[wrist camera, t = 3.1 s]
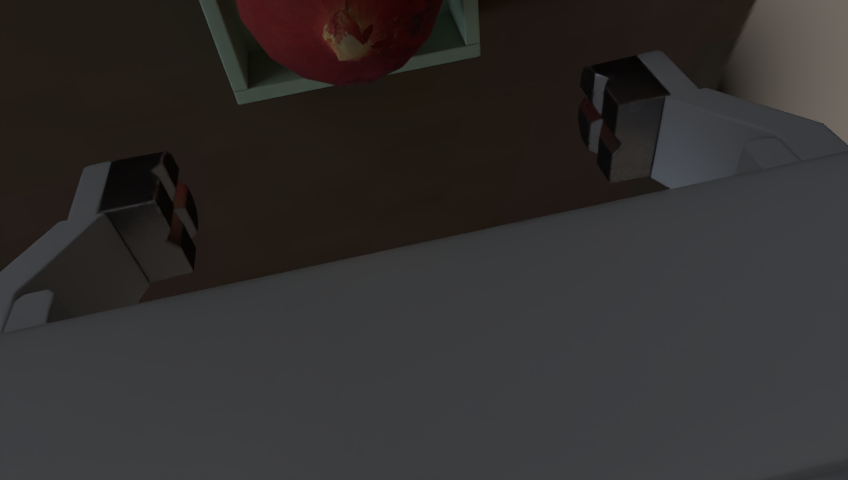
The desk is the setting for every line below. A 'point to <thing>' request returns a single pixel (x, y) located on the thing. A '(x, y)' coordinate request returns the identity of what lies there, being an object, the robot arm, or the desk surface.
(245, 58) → the holder
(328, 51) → the onion
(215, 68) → the desk surface
